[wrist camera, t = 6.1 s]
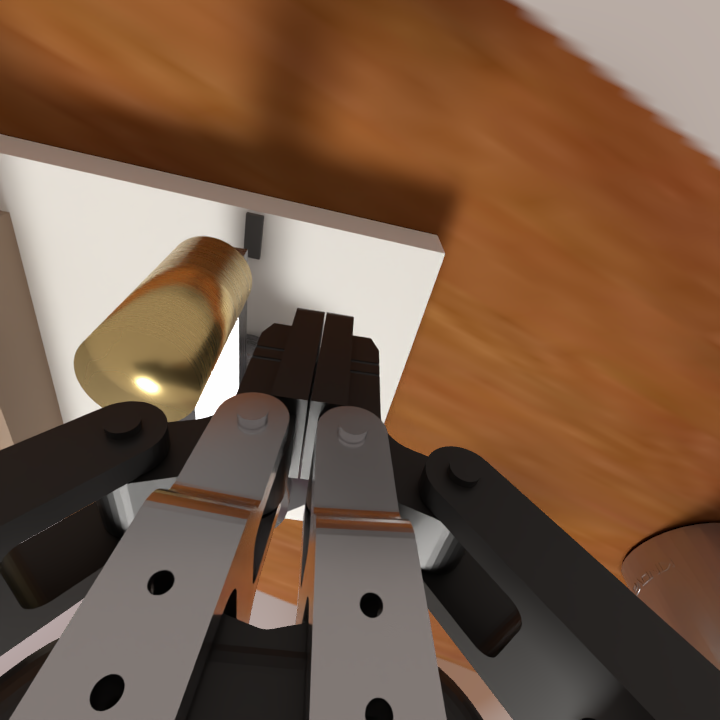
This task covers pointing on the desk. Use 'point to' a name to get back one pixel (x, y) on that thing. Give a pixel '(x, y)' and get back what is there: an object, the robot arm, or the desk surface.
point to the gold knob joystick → (180, 341)
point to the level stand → (153, 244)
